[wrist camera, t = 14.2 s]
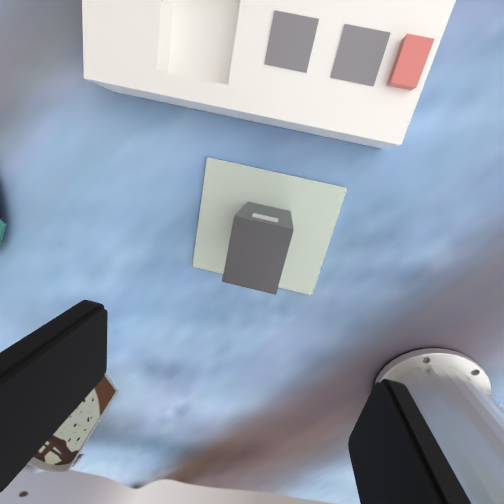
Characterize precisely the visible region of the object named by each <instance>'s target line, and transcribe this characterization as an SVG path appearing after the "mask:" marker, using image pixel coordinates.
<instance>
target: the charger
mask: <svg viewBox="0 0 504 504" xmlns="http://www.w3.org/2000/svg"><path fill="white" fill-rule="evenodd" d="M293 230H294V228H293V222H292V217H291V211H288V210H284V209H279V208H275V207H271V206H266V205H262V204H257V203H253V202H249V201H248V202H247V203H246V204H245V205H244V206H243V207H242V208H241V209H240V210H239V211H238V212H237V213H236V214H235V215H234V219H233V225H232V230H231V235H230V241H229V246H228V252H227V257H226V262H225V268H224V273H223V279H222V282H226V283H230V284H235V285H239V286H243V287H247V288H251V289H255V290H259V291H263V292H267V293H272V294H276V293H277V289H278V285H279V282H280V278H281V274H282V271H283V267H284V263H285V260H286V256H287V252H288V249H289V245H290V241H291V238H292V234H293Z"/></svg>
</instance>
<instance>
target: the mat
mask: <svg viewBox="0 0 504 504" xmlns="http://www.w3.org/2000/svg"><path fill="white" fill-rule="evenodd" d="M346 191H347V188H346V187H341V186H337V185H332V184H328V183H323V182H318V181H314V180H309V179H305V178H300V177H296V176H291V175H287V174H282V173H278V172H273V171H269V170H264V169H259V168H255V167H250V166H246V165H241V164H237V163H232V162H228V161H223V160H219V159H214V158H210V157H207V161H206V169H205V176H204V184H203V191H202V199H201V206H200V213H199V221H198V228H197V236H196V243H195V250H194V258H193V265H192V267H196V268H200V269H204V270H209V271H213V272H217V273H221V274H223V273H224V268H225V262H226V257H227V252H228V246H229V241H230V235H231V230H232V225H233V219H234V215H235V214H236V213H237V212H238V211H239V210H240V209H241V208H242V207H243V206H244V205H245V204H246V203H247V202H248V201H249V202H253V203H257V204H262V205H266V206H271V207H275V208H279V209H284V210H288V211H291V217H292V222H293V228H294V230H293V234H292V238H291V241H290V245H289V249H288V252H287V256H286V260H285V263H284V267H283V271H282V274H281V278H280V282H279V285H278V287H279V288H284V289H288V290H292V291H296V292H300V293H304V294H309V295H312V294H313V291H314V288H315V285H316V282H317V279H318V276H319V273H320V270H321V267H322V264H323V261H324V258H325V255H326V252H327V249H328V246H329V243H330V240H331V237H332V233H333V230H334V227H335V224H336V221H337V218H338V215H339V212H340V209H341V206H342V203H343V200H344V197H345V194H346Z"/></svg>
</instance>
